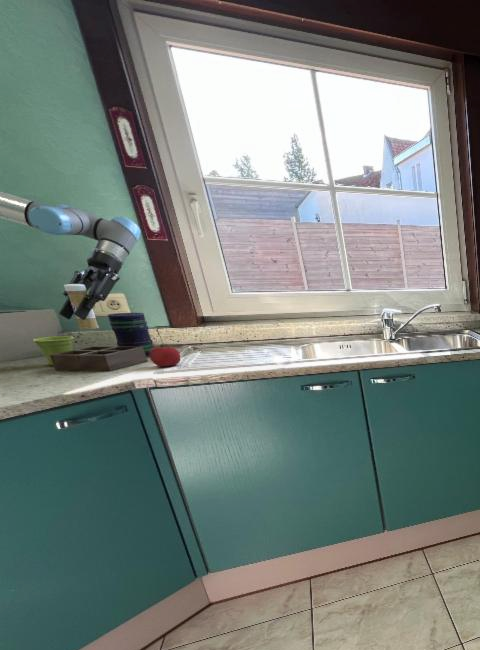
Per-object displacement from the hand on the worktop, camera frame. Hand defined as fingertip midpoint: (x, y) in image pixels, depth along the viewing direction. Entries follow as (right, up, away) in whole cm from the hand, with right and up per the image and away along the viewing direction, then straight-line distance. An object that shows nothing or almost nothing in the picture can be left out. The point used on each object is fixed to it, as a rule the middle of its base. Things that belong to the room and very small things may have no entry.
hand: (72, 316), depth 151 cm
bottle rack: (-5, -13, +15) cm, 20 cm away
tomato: (+15, -13, +17) cm, 26 cm away
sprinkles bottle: (0, -3, +5) cm, 6 cm away
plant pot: (-19, -12, +15) cm, 27 cm away
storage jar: (-8, -7, +30) cm, 32 cm away
